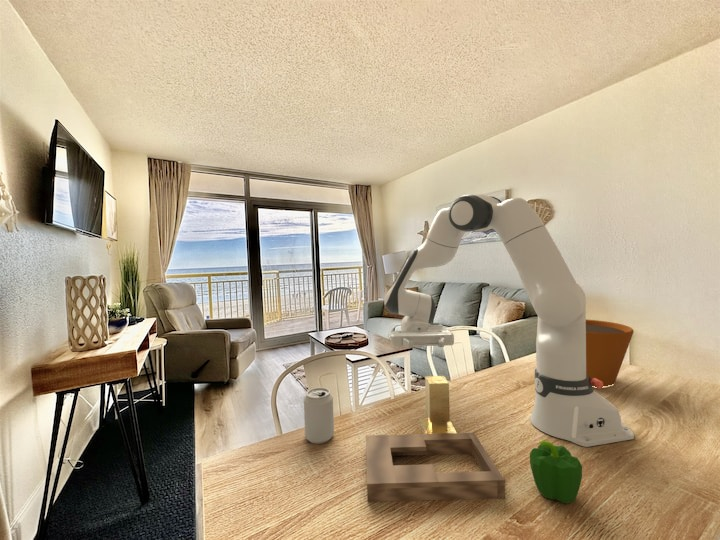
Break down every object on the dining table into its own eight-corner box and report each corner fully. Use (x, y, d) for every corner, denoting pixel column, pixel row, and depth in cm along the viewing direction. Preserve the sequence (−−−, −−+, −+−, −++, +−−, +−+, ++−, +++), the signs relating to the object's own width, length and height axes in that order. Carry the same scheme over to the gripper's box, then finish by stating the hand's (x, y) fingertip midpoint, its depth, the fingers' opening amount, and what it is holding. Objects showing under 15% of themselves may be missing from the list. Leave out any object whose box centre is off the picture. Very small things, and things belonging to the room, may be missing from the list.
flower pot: (604, 400, 95) (604, 336, 95) (535, 374, 118) (535, 322, 117) (649, 386, 104) (649, 328, 103) (578, 365, 126) (577, 316, 126)
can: (329, 447, 76) (327, 398, 75) (300, 444, 77) (298, 397, 77) (337, 430, 83) (336, 386, 83) (311, 428, 85) (309, 385, 84)
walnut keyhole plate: (474, 446, 74) (473, 432, 74) (505, 498, 58) (505, 480, 58) (366, 449, 74) (365, 435, 74) (367, 501, 58) (367, 483, 58)
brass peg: (448, 423, 85) (447, 373, 85) (457, 440, 77) (456, 385, 77) (419, 424, 85) (418, 374, 85) (425, 441, 77) (424, 386, 77)
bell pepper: (578, 486, 61) (578, 436, 60) (585, 517, 53) (585, 460, 53) (530, 473, 65) (529, 426, 64) (530, 500, 57) (529, 447, 57)
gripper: (387, 325, 106) (391, 335, 93) (446, 324, 106) (459, 333, 92) (387, 343, 107) (391, 356, 93) (446, 342, 107) (459, 354, 93)
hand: (426, 345), depth 93 cm, fingers open, 8 cm apart
